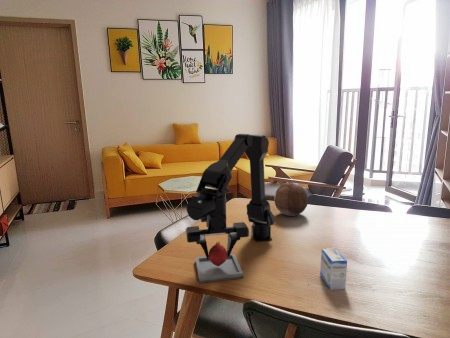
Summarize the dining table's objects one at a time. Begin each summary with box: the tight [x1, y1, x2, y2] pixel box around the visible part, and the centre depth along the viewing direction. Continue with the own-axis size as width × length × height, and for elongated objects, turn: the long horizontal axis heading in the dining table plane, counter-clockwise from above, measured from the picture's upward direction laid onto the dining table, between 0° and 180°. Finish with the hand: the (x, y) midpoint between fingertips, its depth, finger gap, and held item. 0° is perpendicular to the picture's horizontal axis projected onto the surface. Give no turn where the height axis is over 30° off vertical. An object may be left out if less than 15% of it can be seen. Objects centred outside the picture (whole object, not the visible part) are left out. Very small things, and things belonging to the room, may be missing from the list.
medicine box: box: [319, 247, 348, 291], centre depth 92 cm, size 8×4×9 cm, turn 5°
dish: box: [195, 253, 244, 284], centre depth 101 cm, size 13×13×2 cm
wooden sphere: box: [273, 182, 309, 217], centre depth 146 cm, size 15×15×15 cm
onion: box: [208, 241, 227, 266], centre depth 100 cm, size 6×6×8 cm
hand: (217, 257), depth 100 cm, fingers open, 6 cm apart
